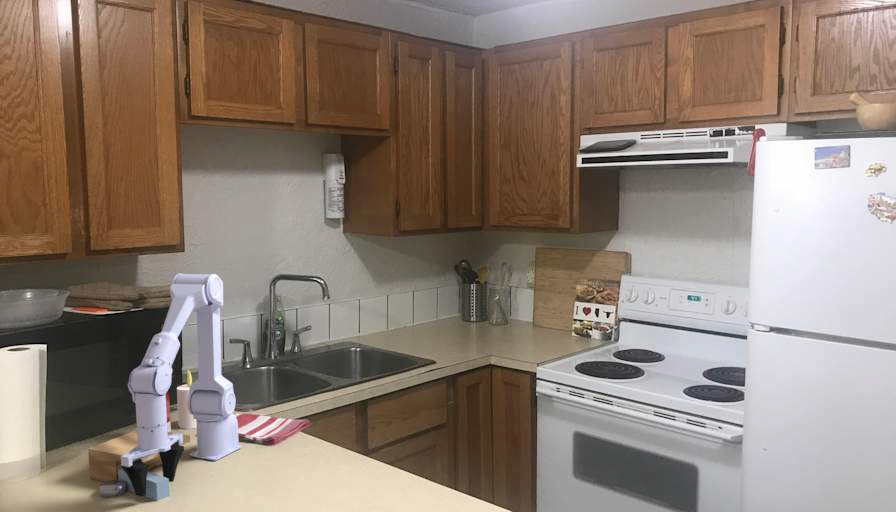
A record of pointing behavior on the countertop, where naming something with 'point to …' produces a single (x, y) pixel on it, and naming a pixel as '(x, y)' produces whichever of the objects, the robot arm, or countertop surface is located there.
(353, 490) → the countertop surface
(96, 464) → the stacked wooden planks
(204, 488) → the countertop surface
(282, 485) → the countertop surface
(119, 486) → the grey round puck
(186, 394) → the candle
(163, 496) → the push bar
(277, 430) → the dish towel
